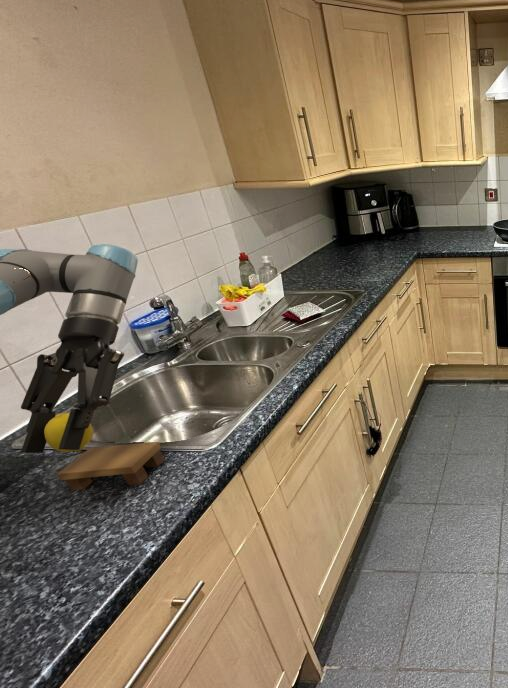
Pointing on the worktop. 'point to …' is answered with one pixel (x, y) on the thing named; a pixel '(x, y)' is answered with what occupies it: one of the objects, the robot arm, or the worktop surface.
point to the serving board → (112, 464)
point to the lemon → (56, 431)
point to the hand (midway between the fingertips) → (50, 450)
